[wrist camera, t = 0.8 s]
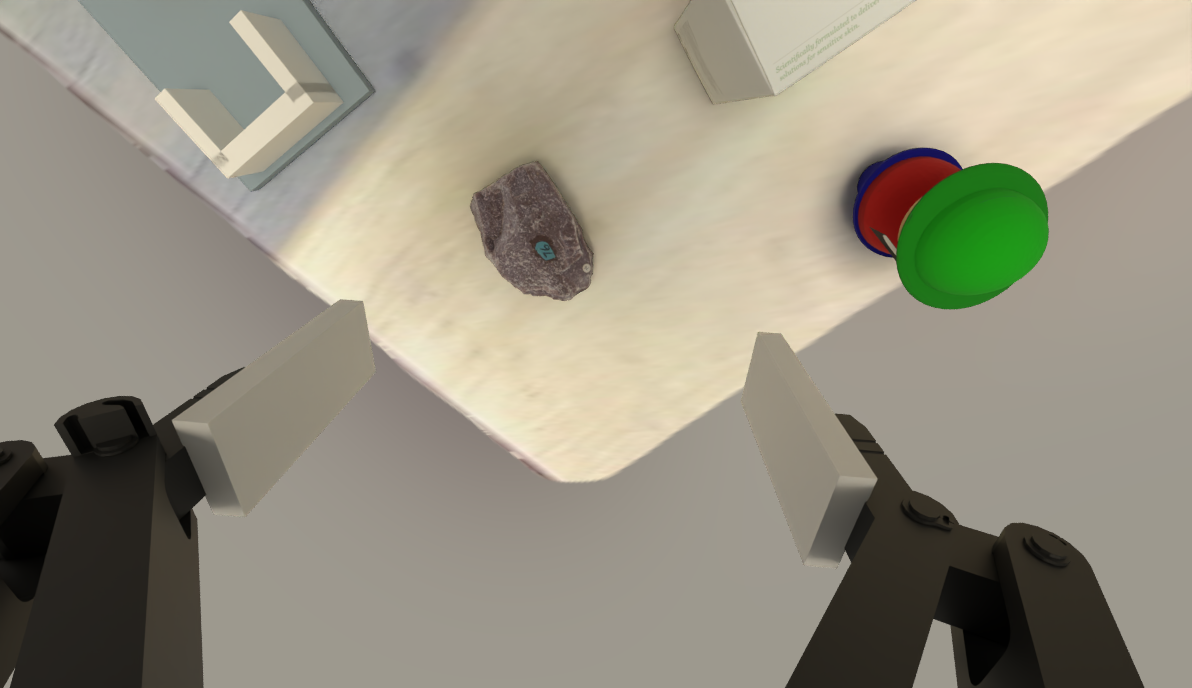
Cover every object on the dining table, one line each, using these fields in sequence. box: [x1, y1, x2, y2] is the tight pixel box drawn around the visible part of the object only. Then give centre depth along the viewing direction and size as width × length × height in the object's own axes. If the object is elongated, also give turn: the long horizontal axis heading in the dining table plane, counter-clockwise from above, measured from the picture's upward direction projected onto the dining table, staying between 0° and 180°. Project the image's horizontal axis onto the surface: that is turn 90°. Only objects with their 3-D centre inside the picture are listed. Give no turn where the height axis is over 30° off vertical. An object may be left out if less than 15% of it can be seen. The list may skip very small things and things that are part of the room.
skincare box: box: [674, 0, 916, 104], centre depth 27 cm, size 8×7×16 cm
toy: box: [853, 148, 1049, 309], centre depth 32 cm, size 9×9×15 cm
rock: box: [470, 161, 593, 301], centre depth 39 cm, size 8×11×5 cm
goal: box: [155, 10, 344, 178], centre depth 35 cm, size 6×10×4 cm, turn 122°
